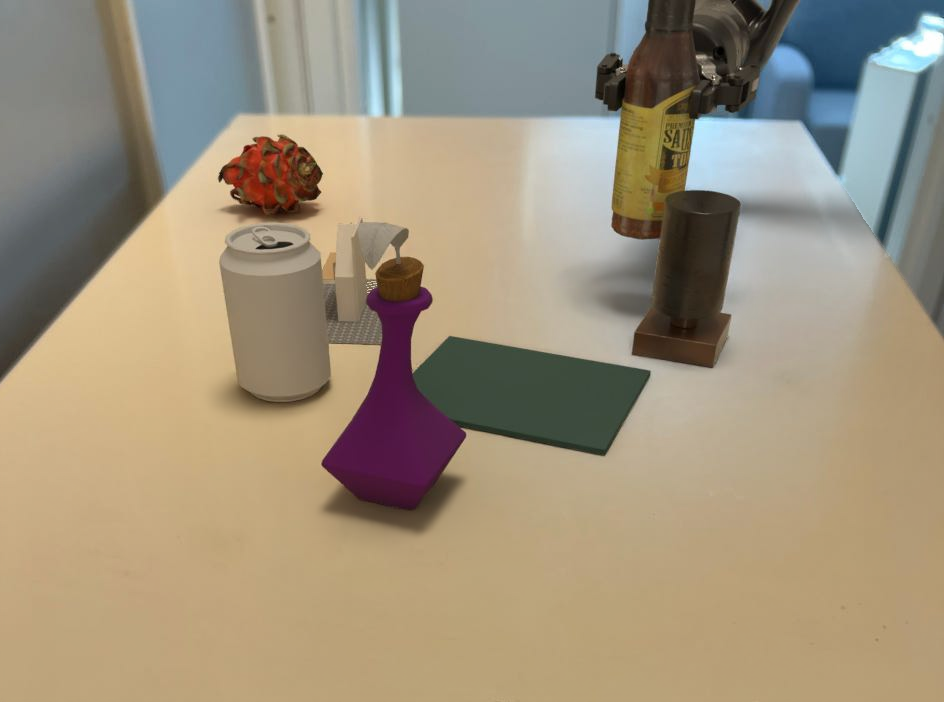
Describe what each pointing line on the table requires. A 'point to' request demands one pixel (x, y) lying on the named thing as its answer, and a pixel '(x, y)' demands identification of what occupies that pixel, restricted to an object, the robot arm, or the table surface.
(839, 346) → the table surface
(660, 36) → the sauce bottle
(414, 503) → the perfume bottle
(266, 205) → the dragon fruit
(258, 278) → the can
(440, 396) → the mat
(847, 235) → the table surface
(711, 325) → the dark brown piece
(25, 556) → the table surface
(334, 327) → the architectural model
